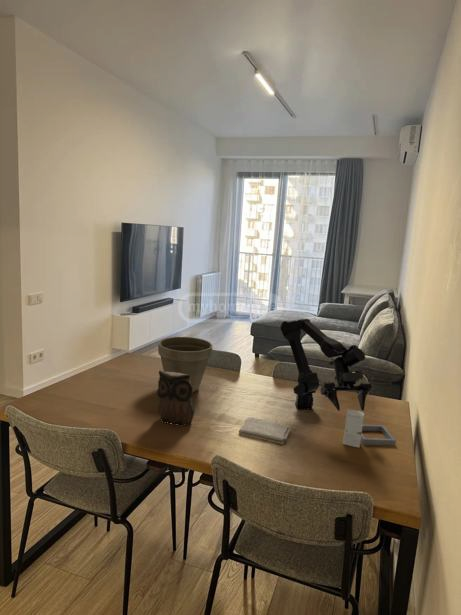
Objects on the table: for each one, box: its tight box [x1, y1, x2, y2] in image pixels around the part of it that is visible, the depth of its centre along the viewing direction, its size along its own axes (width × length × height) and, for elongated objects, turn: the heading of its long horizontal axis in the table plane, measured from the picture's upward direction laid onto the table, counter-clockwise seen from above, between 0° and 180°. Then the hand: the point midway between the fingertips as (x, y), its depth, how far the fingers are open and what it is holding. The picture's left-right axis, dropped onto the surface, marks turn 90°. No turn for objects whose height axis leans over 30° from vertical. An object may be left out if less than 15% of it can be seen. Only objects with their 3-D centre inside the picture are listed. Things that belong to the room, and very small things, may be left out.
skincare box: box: [342, 408, 365, 448], centre depth 152 cm, size 6×4×12 cm
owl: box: [157, 370, 195, 426], centre depth 162 cm, size 13×13×20 cm
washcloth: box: [238, 417, 292, 445], centre depth 158 cm, size 12×18×3 cm, turn 71°
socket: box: [360, 424, 397, 446], centre depth 159 cm, size 12×12×2 cm
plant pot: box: [157, 336, 214, 393], centre depth 196 cm, size 25×25×22 cm
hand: (351, 410), depth 155 cm, fingers open, 9 cm apart
